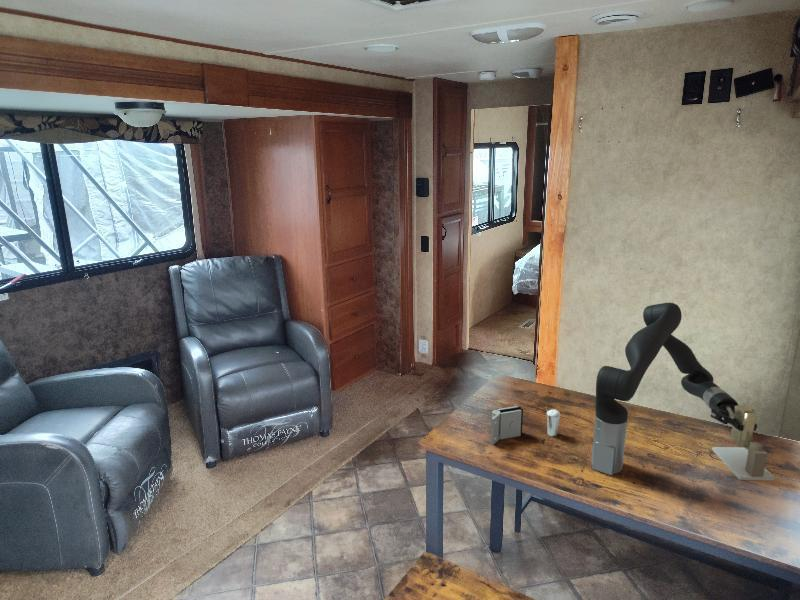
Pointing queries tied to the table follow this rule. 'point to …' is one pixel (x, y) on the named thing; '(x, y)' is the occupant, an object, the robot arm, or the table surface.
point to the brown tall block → (744, 425)
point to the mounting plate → (745, 461)
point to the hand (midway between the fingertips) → (748, 428)
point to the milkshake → (552, 422)
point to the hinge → (506, 423)
